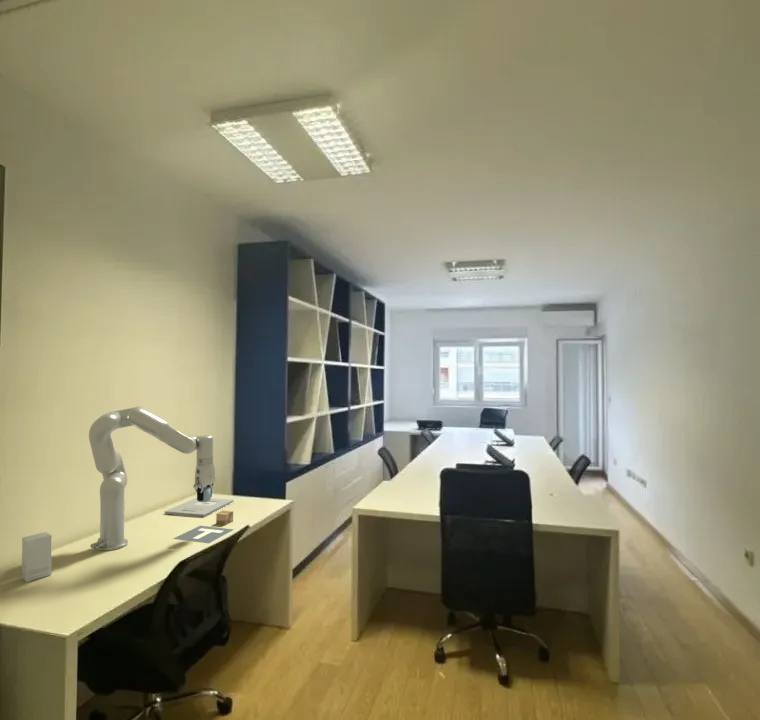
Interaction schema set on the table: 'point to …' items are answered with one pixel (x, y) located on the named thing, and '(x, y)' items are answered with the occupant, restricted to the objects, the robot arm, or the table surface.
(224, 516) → the oak block
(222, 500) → the award plaque
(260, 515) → the table surface
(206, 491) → the blue canister
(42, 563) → the skincare box
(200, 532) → the letter mat
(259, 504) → the table surface
